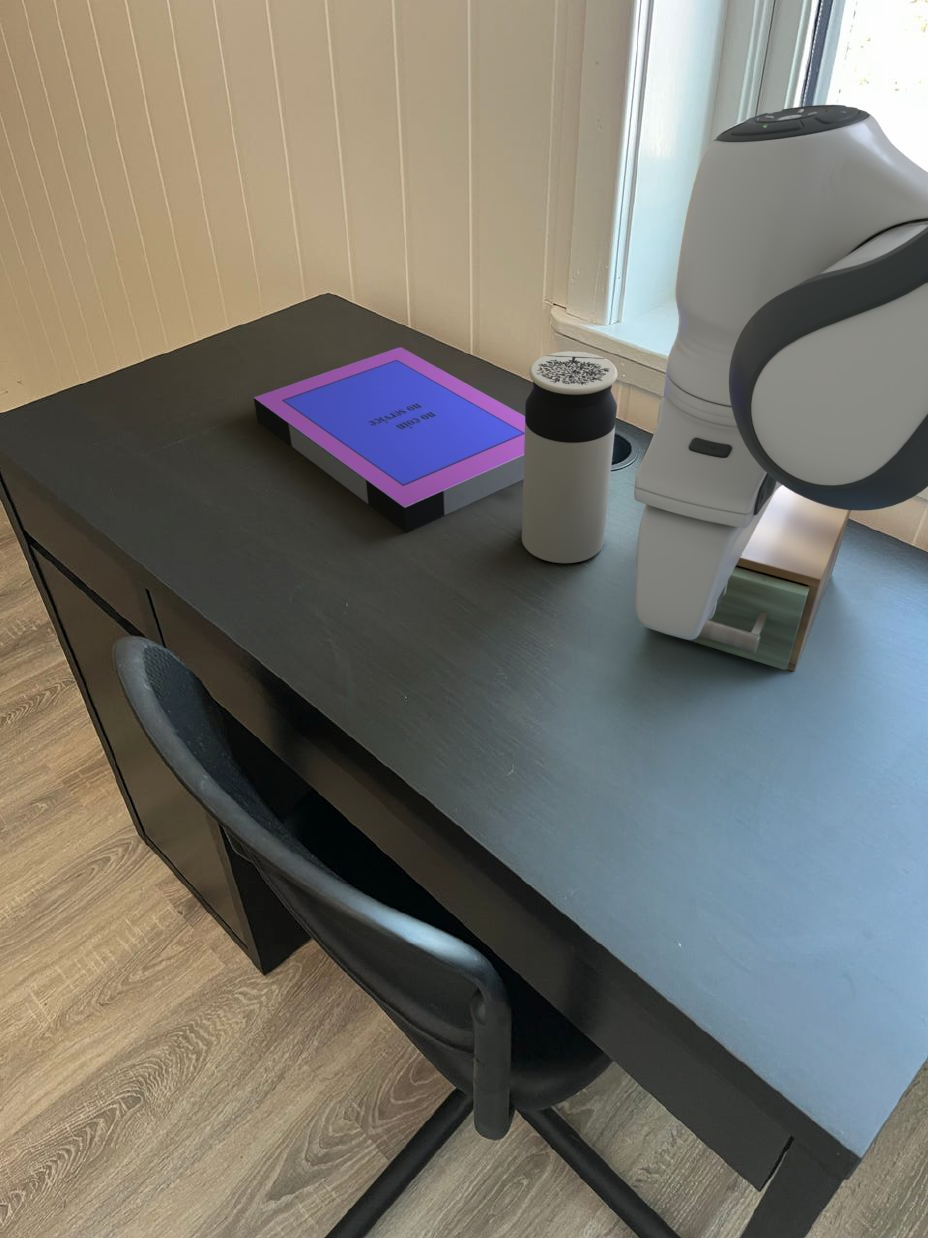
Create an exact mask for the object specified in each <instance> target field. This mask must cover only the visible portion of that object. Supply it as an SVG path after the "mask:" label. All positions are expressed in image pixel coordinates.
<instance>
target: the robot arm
mask: <svg viewBox="0 0 928 1238" xmlns="http://www.w3.org/2000/svg"><path fill="white" fill-rule="evenodd" d="M682 232H683V233H682V238H681V244H680V251H679V257H678V265H677V274H676V281H675V291H674V293H675V295H674V296H675V303H676V308H677V314H678V326H677V331H676V332H677V333H676V337H675V339H674V342H673V344H672V346H671V348H670V351H669V353H668V357H667V361H666V365H665V366H666V367H665V374H664V381H663V382H664V383H663V391H662V393H663V394H662V399H661V400H660V403H659V406H658V413H657V421H656V427H655V430H654V432H653V434H652V436H651V438H650V439H649V442H648V445H647V447H646V449H645V452H644V454H643V456H642V459H641V460H640V464H639V465H638V468H637V471H636V474H635V480H634V491H633V497H634V500H635V501H636V502H638V503H641V504H644V505H645V506H644V509H643V512H642V515H641V519H640V524H639V529H638V537H637V546H636V547H637V548H636V564H635V582H634V583H635V584H634V609H635V610H634V611H635V615H636V617H637V619H638V621H639V622H640V624H641V626H643V627H644V628H647V629H649V630H653V631H656V632H658V633H662V634H664V635H668V636H670V637H671V636H672V637H675V638H679V639H681V640H686V639H687V641H690V640H693V639H695V638H697V637H698V636H699V634H700V632H701V630H702V628H703V626H704V624H705V622H706V621H707V620H709V619H712V617H713V616H714V614H715V612H716V610H717V608H718V606H719V604H720V602H721V600H722V598H723V597H724V595H725V593H726V588H727V583H728V579H729V577H730V576H731V574H732V572H733V570H734V568H735V566H736V564H737V562H738V561H739V559H740V557H741V555H742V553H743V551H744V549H745V547H746V546H747V544H748V542H749V540H750V538H751V536H752V534H753V532H754V531H755V529H756V527H757V525H758V523H759V521H760V519H761V518H762V516H763V514H764V512H765V510H766V508H767V506H768V504H769V503H770V501H771V499H772V497H773V495H774V493H775V491H776V490H777V489H778V488H779V487H780V486H782V485H783V486H784V487H786V488H787V489H789V490H791V491H793V492H794V493H796V494H798V495H800V496H802V497H804V498H806V499H809V500H811V501H814V502H817V503H819V504H822V505H826V506H829V507H833V508H838V509H844V510H851V511H858V512H859V511H860V512H861V511H876V510H881V509H885V508H889V507H894V506H896V505H899V504H902V503H904V502H906V501H908V500H911V499H912V498H914V497H915V496H917V495H919V494H920V493H922V492H923V491H924V490H926V489H927V488H928V171H926V170H925V169H924V168H923V167H921V166H919V165H918V164H917V163H916V162H914V161H913V160H912V159H910V158H909V157H908V156H906V155H905V154H904V153H903V152H902V151H900V149H898V148H897V146H895V145H894V144H893V143H892V141H891V140H890V139H889V137H888V136H887V135H886V133H885V132H884V130H883V129H882V127H881V126H880V124H879V122H878V121H877V119H876V118H875V117H874V116H873V115H872V114H871V113H869V112H868V111H866V110H862V109H859V108H858V107H853V106H846V105H844V104H843V105H842V104H816V105H803V106H797V107H789V108H783V109H781V110H778V111H777V110H776V111H773V112H764V113H761V114H759V115H755V116H753V117H752V116H751V117H749V118H747V119H745V120H743V121H740V122H738V123H736V124H735V125H732V126H731V127H728V128H727V129H726V130H724V131H722V132H721V133H719V134H718V135H717V136H716V138H715V139H714V140H712V141H711V142H710V143H709V145H708V146H707V148H706V150H705V152H704V154H703V156H702V158H701V161H700V163H699V166H698V169H697V172H696V175H695V179H694V182H693V186H692V190H691V194H690V199H689V201H688V207H687V211H686V215H685V222H684V228H683V231H682Z"/></svg>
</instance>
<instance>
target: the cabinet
mask: <svg viewBox="0 0 928 1238" xmlns="http://www.w3.org/2000/svg"><path fill="white" fill-rule="evenodd" d="M851 511H852V510H844V509H838V508H833V507H829V506H826V505H822V504H819V503H817V502H814V501H811V500H809V499H806V498H804V497H802V496H800V495H798V494H796V493H794V492H793V491H791V490H789V489H787V488H786V487H784V486H783V485H782V486H780V487H779V488H778V489H777V490H776V491H775V493H774V495H773V497H772V499H771V501H770V503H769V504H768V506H767V508H766V510H765V512H764V514H763V516H762V518H761V519H760V521H759V523H758V525H757V527H756V529H755V531H754V532H753V534H752V536H751V538H750V540H749V542H748V544H747V546H746V547H745V549H744V551H743V553H742V555H741V557H740V559H739V561H738V562H737V564H736V565H737V566H741V567H745V568H748V569H752V570H756V571H759V572H763V573H767V574H770V575H774V576H777V577H781V578H785V579H788V580H792V581H796V582H799V583H803V584H807V585H808V587H809V588H810V590H809V593H808V597H807V600H806V604H805V607H804V611H803V615H802V618H801V622H800V625H799V629H798V632H797V636H796V640H795V643H794V647H793V650H792V654H791V657H790V661H789V664H788V666H787V669H786V670H788V671H791V672H795V671H796V669H797V666H798V664H799V662H800V659H801V656H802V654H803V651H804V648H805V646H806V643H807V641H808V637H809V635H810V633H811V630H812V627H813V625H814V622H815V620H816V617H817V615H818V612H819V609H820V606H821V604H822V601H823V598H824V596H825V594H826V591H827V588H828V586H829V583H830V581H831V578H832V576H833V572H834V568H835V565H836V562H837V559H838V555H839V551H840V549H841V545H842V542H843V539H844V535H845V532H846V528H847V525H848V521H849V519H850V515H851Z"/></svg>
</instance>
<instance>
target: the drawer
mask: <svg viewBox="0 0 928 1238" xmlns="http://www.w3.org/2000/svg"><path fill="white" fill-rule="evenodd" d="M809 590H810V588H809V587H808V585H807V584H803V583H799V582H796V581H792V580H788V579H785V578H781V577H777V576H774V577H770V576H766V575H763V574H759V573H755V572H752V571H748V570H745V569H741V568H737V567H735V568H734V570H733V572H732V574H731V576H730V577H729V579H728V583H727V588H726V593H725V595H724V597H723V598H722V600H721V602H720V604H719V606H718V608H717V610H716V612H715V614H714V616H713V617H712V619H709V620H707V621H706V622H705V624H704V626H703V628H702V630H701V632H700V634H699V636H698V637H697V638H695V639H693V640H689V642H693V643H696V644H699V645H703V646H706V647H709V648H713V649H716V650H719V651H722V652H726V653H728V654H732V655H734V656H738V657H741V658H744V659H747V660H752V661H754V662H758V663H761V664H764V665H768V666H771V667H773V668H777V669H780V670H783V671H786V670H787V666H788V664H789V661H790V657H791V654H792V650H793V647H794V643H795V640H796V636H797V632H798V629H799V625H800V622H801V618H802V615H803V611H804V607H805V604H806V600H807V597H808V593H809ZM685 640H687V639H685ZM687 641H688V640H687Z"/></svg>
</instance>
